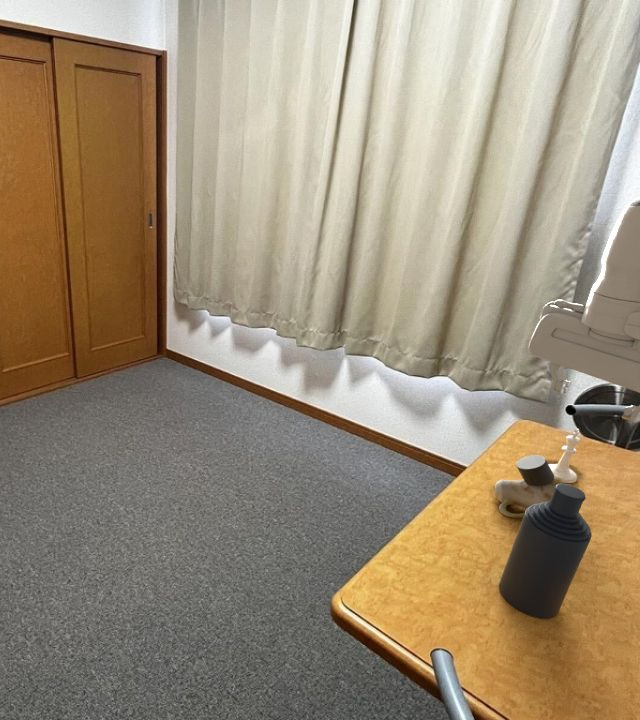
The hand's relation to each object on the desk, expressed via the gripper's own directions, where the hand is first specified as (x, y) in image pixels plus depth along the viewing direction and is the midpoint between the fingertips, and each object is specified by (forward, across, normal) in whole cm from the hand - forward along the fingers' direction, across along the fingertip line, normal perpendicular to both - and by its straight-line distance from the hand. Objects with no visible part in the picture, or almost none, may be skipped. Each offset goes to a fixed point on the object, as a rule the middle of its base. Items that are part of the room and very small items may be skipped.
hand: (592, 404), depth 70 cm
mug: (+21, -3, -2) cm, 22 cm away
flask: (+21, +10, -19) cm, 30 cm away
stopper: (+15, -3, -1) cm, 15 cm away
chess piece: (+22, -7, +13) cm, 26 cm away
